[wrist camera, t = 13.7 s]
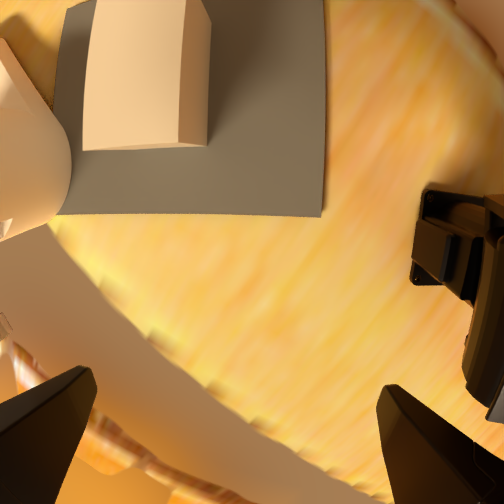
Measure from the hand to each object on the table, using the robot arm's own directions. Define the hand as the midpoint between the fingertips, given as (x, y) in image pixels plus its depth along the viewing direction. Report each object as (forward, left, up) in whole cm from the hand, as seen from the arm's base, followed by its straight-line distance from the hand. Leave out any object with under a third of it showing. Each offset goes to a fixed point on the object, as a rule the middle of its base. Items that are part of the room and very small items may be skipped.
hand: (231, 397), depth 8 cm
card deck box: (+5, -11, -11) cm, 17 cm away
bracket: (+20, -11, -12) cm, 26 cm away
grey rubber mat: (+5, -11, -12) cm, 17 cm away
